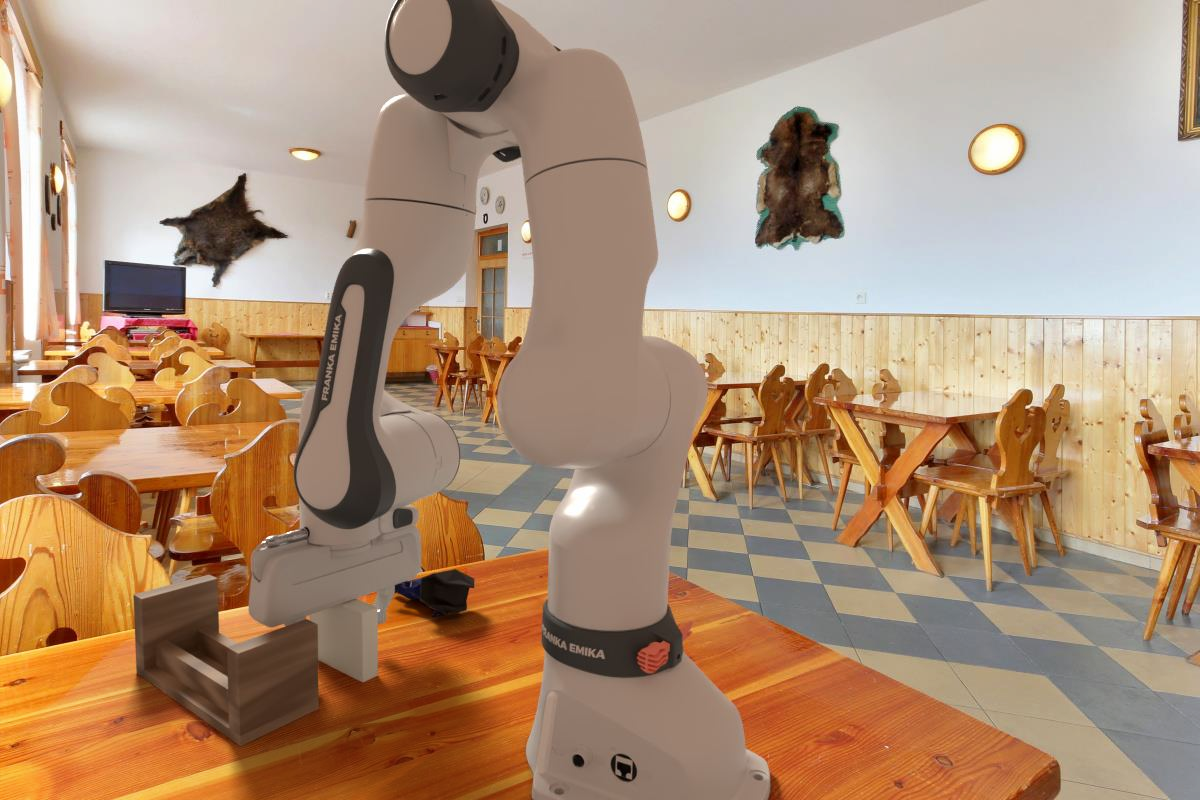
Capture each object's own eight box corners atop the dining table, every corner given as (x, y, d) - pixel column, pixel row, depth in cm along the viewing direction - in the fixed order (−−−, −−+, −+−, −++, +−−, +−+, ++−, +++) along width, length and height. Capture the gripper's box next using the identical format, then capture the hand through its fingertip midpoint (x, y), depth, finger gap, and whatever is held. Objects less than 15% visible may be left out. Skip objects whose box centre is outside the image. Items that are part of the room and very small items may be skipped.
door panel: (377, 675, 77) (377, 607, 77) (362, 682, 76) (362, 613, 75) (325, 649, 83) (324, 586, 82) (309, 656, 81) (308, 590, 81)
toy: (430, 573, 105) (492, 572, 95) (424, 617, 103) (487, 620, 93) (376, 567, 99) (436, 564, 89) (368, 613, 97) (429, 616, 87)
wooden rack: (318, 708, 70) (317, 624, 69) (240, 746, 64) (238, 653, 63) (211, 646, 83) (209, 574, 82) (136, 672, 76) (133, 594, 75)
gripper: (268, 547, 67) (270, 681, 69) (429, 507, 84) (428, 615, 86) (235, 534, 71) (237, 662, 72) (396, 498, 88) (395, 602, 89)
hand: (342, 636), depth 79 cm, fingers open, 8 cm apart
